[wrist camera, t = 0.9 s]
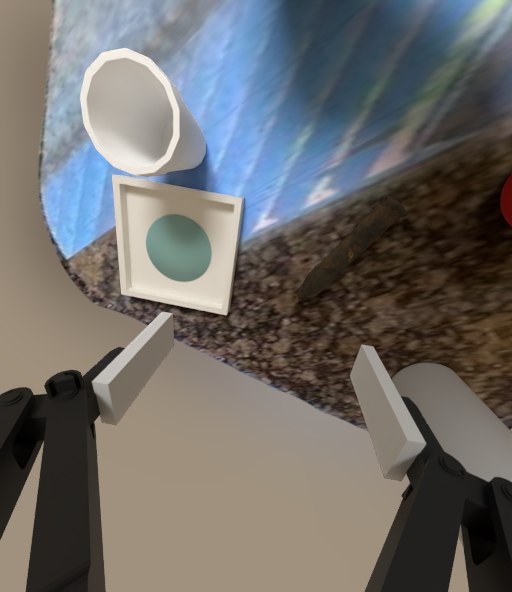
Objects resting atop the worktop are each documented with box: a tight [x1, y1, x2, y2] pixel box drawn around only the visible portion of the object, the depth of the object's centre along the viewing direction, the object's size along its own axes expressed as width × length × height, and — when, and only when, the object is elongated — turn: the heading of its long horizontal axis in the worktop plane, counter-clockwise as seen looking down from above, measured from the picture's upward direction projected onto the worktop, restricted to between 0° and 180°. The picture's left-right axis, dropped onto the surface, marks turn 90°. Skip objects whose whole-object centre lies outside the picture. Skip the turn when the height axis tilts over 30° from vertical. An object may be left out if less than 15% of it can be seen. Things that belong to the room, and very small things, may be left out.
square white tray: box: [112, 174, 245, 315], centre depth 38 cm, size 19×19×2 cm
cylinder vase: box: [391, 363, 512, 545], centre depth 34 cm, size 12×12×25 cm
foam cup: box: [80, 48, 206, 177], centre depth 27 cm, size 10×9×13 cm
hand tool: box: [298, 195, 407, 300], centre depth 35 cm, size 19×4×5 cm, turn 138°
